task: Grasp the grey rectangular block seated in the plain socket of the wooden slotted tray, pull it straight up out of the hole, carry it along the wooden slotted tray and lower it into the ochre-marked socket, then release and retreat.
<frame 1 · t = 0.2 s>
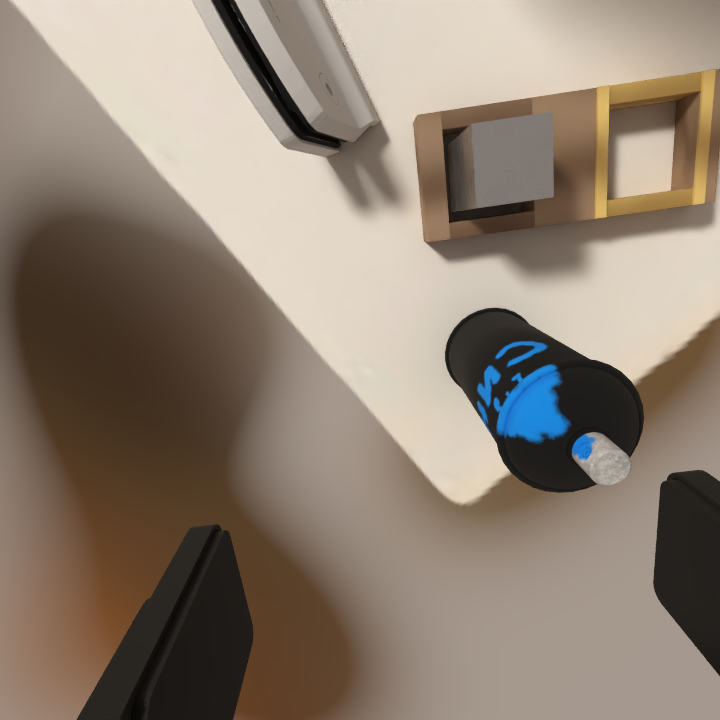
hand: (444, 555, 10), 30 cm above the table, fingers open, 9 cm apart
aerosol can: (489, 351, 40), on the table
grey rectangular block: (480, 175, 36), resting in wooden slotted tray
wooden slotted tray: (555, 164, 35), on the table
gray curved box: (285, 47, 33), on the table
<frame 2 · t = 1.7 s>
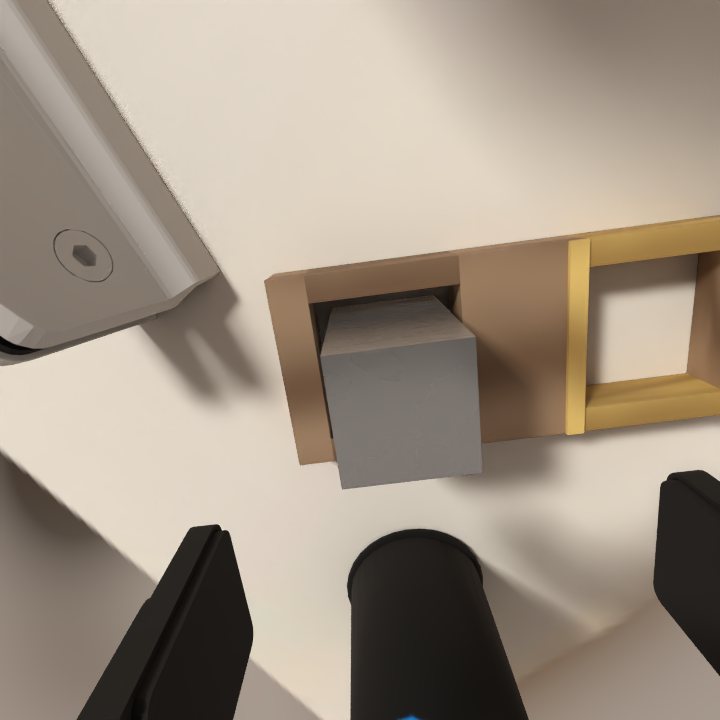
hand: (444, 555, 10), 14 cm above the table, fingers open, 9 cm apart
aerosol can: (414, 580, 27), on the table
grey rectangular block: (387, 349, 23), resting in wooden slotted tray
wooden slotted tray: (506, 335, 22), on the table
gray curved box: (50, 155, 20), on the table
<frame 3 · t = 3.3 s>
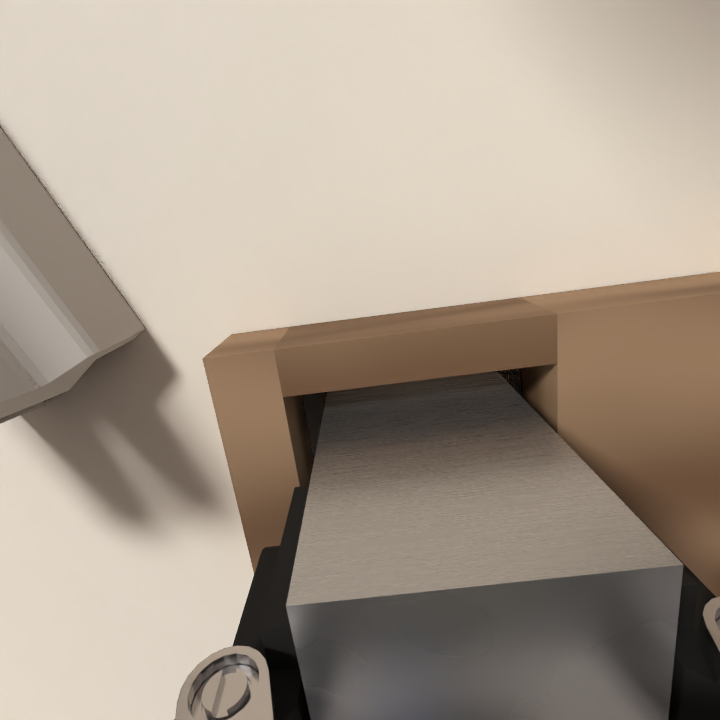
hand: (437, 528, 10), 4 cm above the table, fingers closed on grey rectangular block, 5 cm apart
grey rectangular block: (418, 453, 14), resting in wooden slotted tray, touching gripper
wooden slotted tray: (610, 430, 14), on the table
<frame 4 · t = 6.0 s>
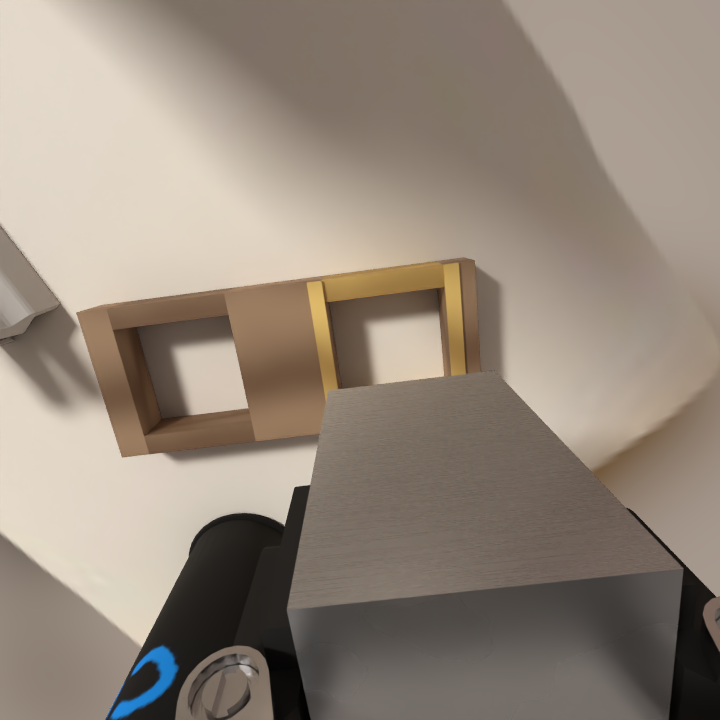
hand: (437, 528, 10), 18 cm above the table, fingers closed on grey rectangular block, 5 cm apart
aerosol can: (247, 558, 32), on the table
grey rectangular block: (418, 454, 14), point 14 cm above the table, touching gripper
wooden slotted tray: (293, 353, 28), on the table
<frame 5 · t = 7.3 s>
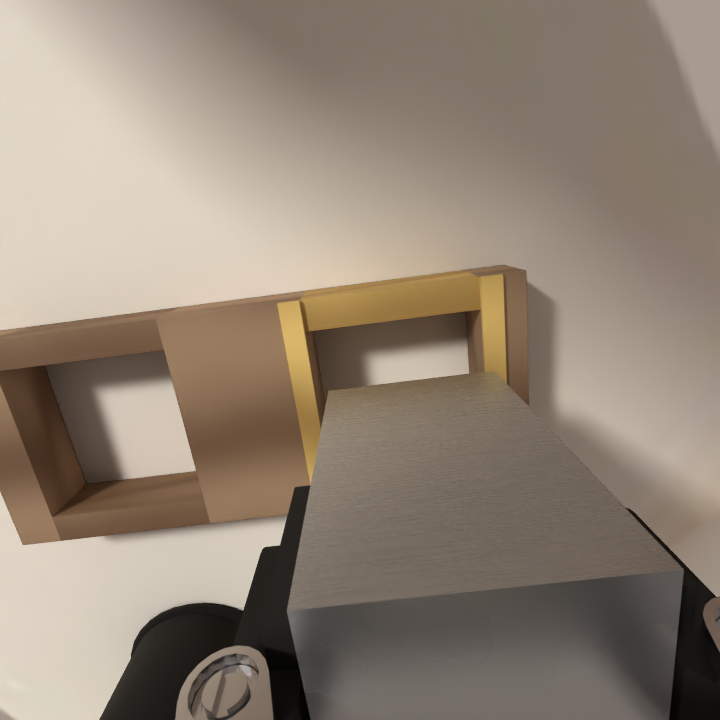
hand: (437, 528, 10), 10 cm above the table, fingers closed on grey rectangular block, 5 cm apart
aerosol can: (210, 656, 25), on the table
grey rectangular block: (418, 455, 14), point 6 cm above the table, touching gripper
wooden slotted tray: (263, 397, 20), on the table
when the fingers open (5 cm above the table, at t = 8.7 s): grey rectangular block drops 1 cm, resting in wooden slotted tray.
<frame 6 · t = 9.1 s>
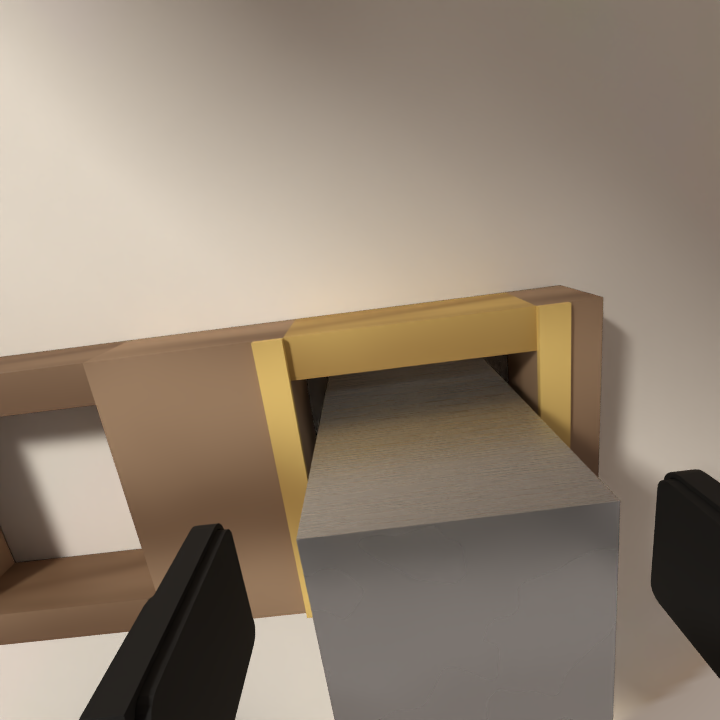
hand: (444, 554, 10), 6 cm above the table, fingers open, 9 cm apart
grey rectangular block: (412, 434, 15), resting in wooden slotted tray
wooden slotted tray: (240, 455, 15), on the table
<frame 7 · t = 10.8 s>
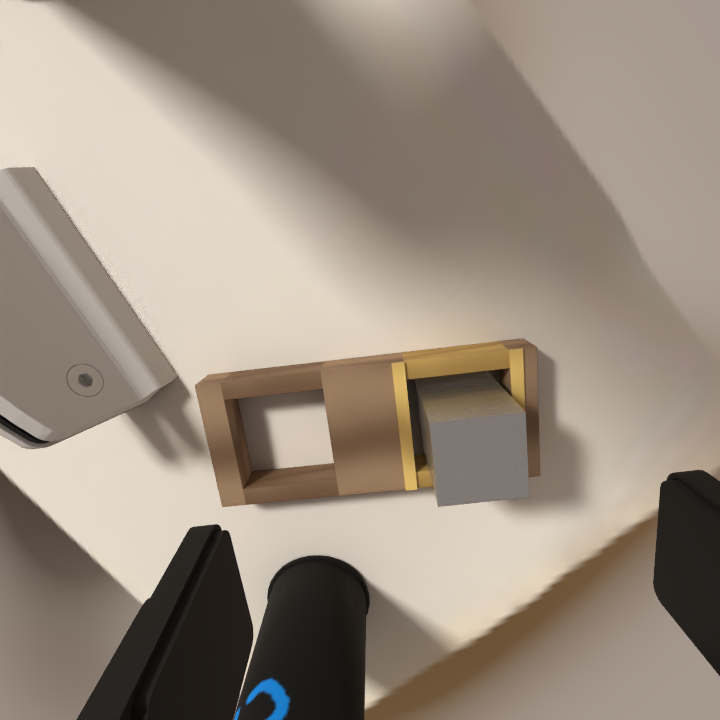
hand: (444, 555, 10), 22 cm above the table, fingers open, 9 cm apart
aerosol can: (319, 595, 36), on the table
grey rectangular block: (453, 408, 32), resting in wooden slotted tray
wooden slotted tray: (370, 417, 32), on the table
gray curved box: (69, 304, 31), on the table
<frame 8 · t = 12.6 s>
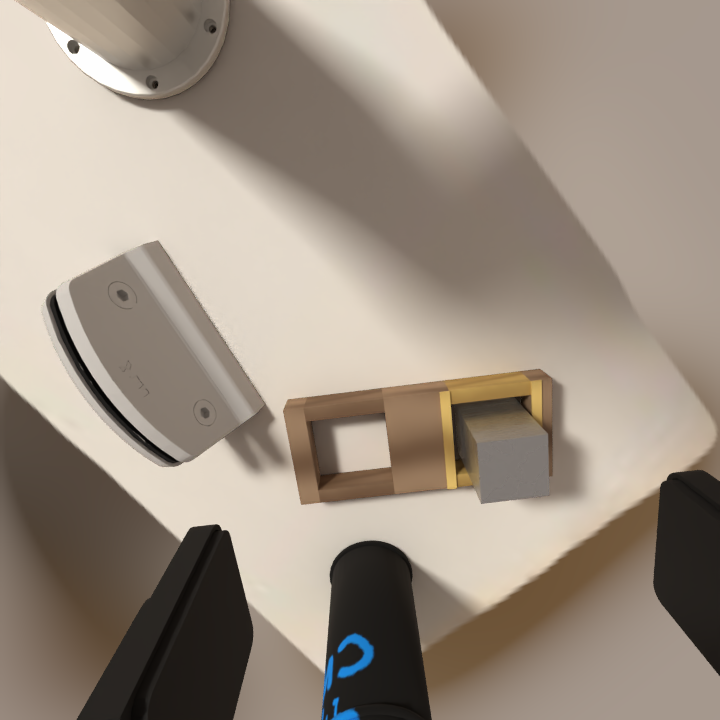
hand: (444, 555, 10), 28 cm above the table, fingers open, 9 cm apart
aerosol can: (371, 572, 44), on the table
grey rectangular block: (483, 423, 40), resting in wooden slotted tray
wooden slotted tray: (417, 431, 40), on the table
gray curved box: (178, 347, 38), on the table
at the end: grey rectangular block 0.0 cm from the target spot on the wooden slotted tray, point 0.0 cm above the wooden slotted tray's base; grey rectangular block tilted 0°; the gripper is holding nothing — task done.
